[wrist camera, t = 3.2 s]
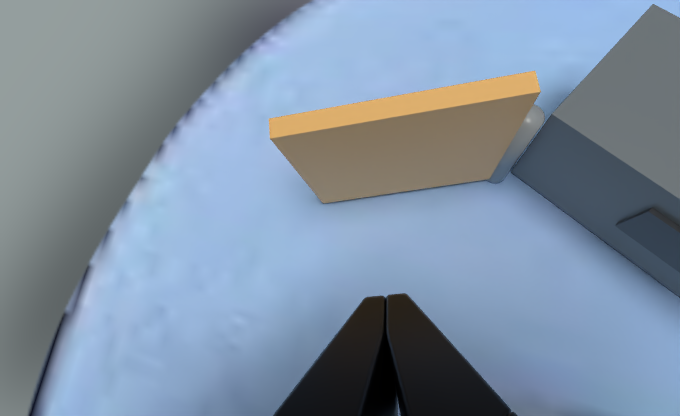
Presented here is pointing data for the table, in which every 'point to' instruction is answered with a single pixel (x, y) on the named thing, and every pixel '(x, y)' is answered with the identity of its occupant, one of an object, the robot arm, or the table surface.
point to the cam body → (621, 149)
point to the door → (412, 138)
